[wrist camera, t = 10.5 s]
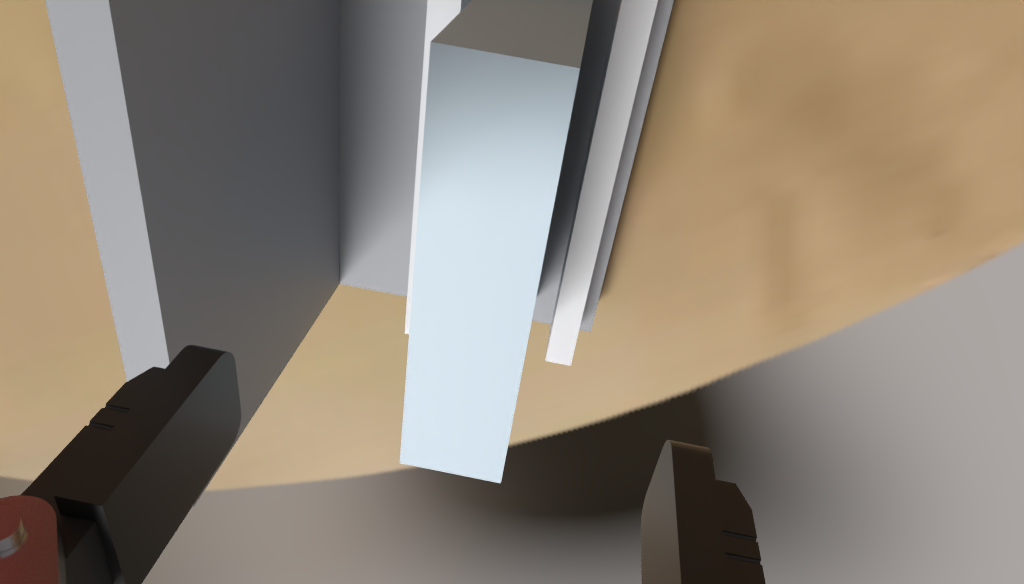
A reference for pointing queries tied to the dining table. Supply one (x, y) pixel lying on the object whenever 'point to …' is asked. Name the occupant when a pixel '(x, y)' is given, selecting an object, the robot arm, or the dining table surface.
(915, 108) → the dining table surface
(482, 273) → the door panel
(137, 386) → the robot arm
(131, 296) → the grey slotted stand
